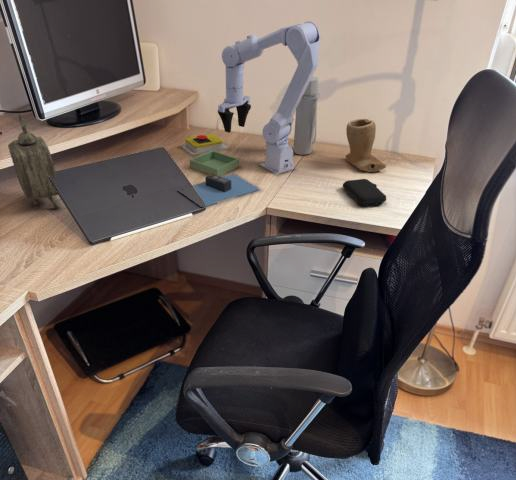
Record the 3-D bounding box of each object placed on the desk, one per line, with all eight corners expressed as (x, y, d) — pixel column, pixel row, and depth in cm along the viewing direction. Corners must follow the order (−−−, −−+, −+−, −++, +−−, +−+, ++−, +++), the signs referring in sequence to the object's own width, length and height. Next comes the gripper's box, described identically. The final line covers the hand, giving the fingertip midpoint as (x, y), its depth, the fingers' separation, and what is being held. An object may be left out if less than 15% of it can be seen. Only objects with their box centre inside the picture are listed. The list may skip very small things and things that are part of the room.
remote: (231, 188, 159) (231, 179, 157) (224, 192, 157) (224, 183, 155) (212, 181, 162) (212, 172, 160) (205, 185, 160) (205, 176, 158)
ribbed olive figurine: (65, 210, 146) (42, 121, 129) (33, 216, 142) (5, 126, 126) (53, 190, 155) (31, 105, 138) (23, 196, 152) (-4, 109, 135)
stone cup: (336, 159, 180) (341, 115, 170) (365, 155, 184) (372, 113, 174) (355, 176, 170) (362, 130, 160) (386, 172, 173) (395, 127, 163)
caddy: (239, 167, 172) (239, 158, 170) (217, 178, 165) (217, 169, 163) (212, 158, 178) (212, 150, 176) (190, 168, 171) (189, 159, 169)
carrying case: (391, 204, 154) (369, 185, 165) (393, 195, 152) (370, 176, 163) (359, 208, 152) (339, 188, 162) (361, 199, 150) (341, 179, 160)
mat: (259, 190, 160) (259, 189, 159) (201, 208, 149) (201, 207, 149) (234, 175, 168) (234, 174, 167) (177, 191, 157) (177, 190, 157)
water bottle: (287, 151, 184) (292, 77, 168) (302, 146, 189) (308, 73, 172) (305, 159, 180) (312, 83, 163) (320, 154, 184) (328, 79, 167)
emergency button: (180, 135, 182) (217, 129, 188) (181, 147, 185) (217, 141, 191) (191, 143, 176) (228, 137, 182) (191, 156, 179) (228, 149, 185)
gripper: (238, 80, 171) (238, 121, 180) (210, 88, 162) (212, 131, 171) (255, 83, 168) (254, 125, 177) (227, 93, 159) (228, 136, 168)
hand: (234, 129), depth 174 cm, fingers open, 7 cm apart
